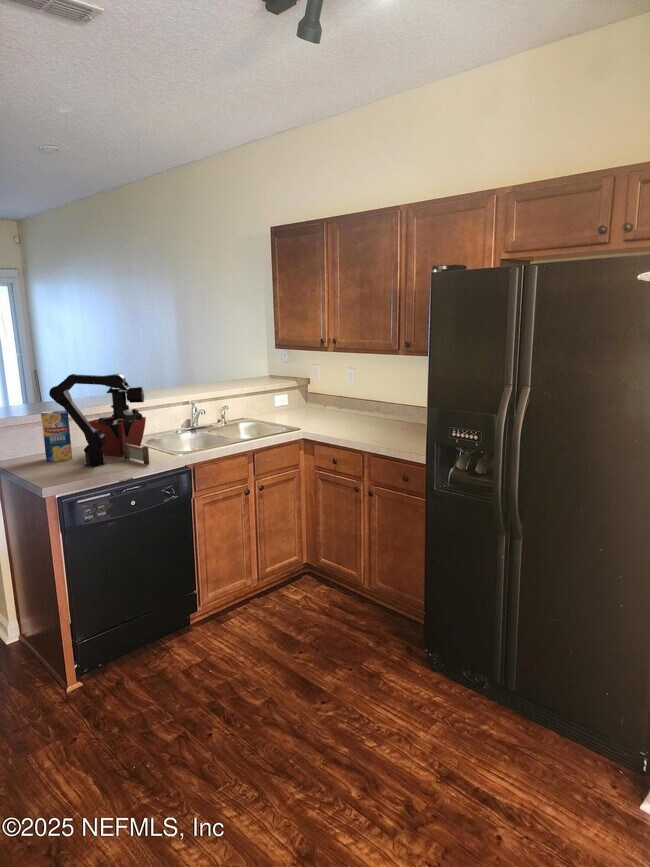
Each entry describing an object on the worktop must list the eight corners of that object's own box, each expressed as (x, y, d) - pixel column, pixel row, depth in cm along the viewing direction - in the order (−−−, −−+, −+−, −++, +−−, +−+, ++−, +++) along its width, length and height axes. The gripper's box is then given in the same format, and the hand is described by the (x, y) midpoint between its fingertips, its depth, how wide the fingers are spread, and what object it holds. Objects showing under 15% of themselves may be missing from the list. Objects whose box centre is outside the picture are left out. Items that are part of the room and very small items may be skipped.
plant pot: (117, 447, 287) (114, 414, 283) (149, 450, 280) (146, 416, 277) (90, 456, 269) (86, 421, 266) (123, 459, 263) (120, 423, 259)
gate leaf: (142, 461, 254) (141, 448, 253) (127, 457, 261) (126, 444, 260) (145, 460, 255) (145, 447, 254) (130, 456, 263) (129, 443, 261)
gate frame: (145, 464, 252) (144, 447, 251) (123, 459, 263) (121, 442, 261) (150, 463, 254) (149, 446, 253) (127, 458, 265) (126, 441, 263)
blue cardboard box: (45, 459, 264) (40, 412, 259) (71, 456, 269) (67, 410, 264) (46, 462, 258) (41, 414, 253) (72, 459, 263) (68, 412, 258)
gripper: (110, 407, 237) (113, 443, 240) (148, 401, 251) (151, 436, 254) (96, 405, 243) (99, 440, 246) (133, 399, 258) (136, 433, 261)
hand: (122, 437), depth 252 cm, fingers open, 4 cm apart
